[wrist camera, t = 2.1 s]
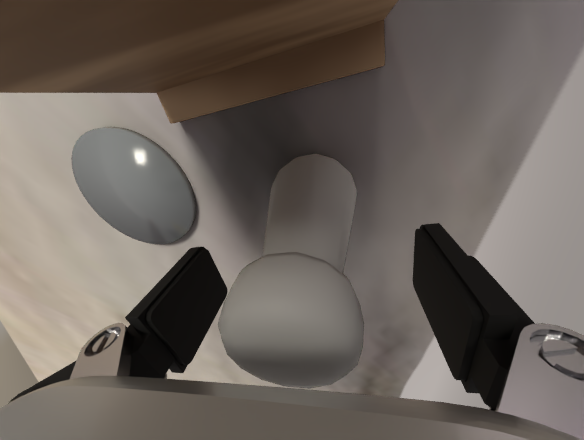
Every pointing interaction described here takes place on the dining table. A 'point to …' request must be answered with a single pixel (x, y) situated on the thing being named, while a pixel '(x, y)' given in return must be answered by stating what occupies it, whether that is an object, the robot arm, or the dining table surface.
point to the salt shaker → (299, 283)
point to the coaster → (134, 185)
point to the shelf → (187, 48)
